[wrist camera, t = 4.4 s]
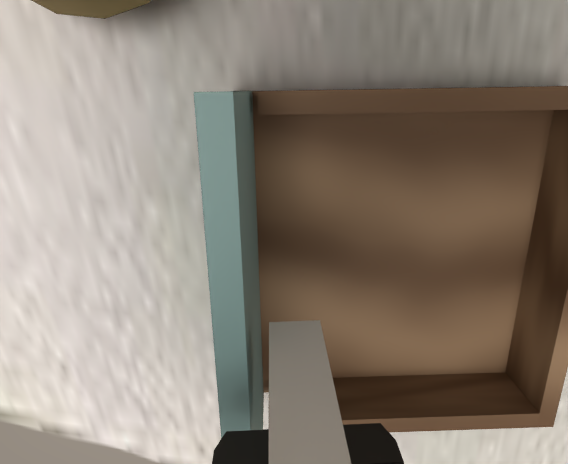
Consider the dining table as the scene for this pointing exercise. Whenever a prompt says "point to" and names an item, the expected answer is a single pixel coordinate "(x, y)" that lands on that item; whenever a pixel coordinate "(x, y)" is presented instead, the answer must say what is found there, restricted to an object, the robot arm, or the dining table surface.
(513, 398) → the crate
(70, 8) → the squeeze bottle
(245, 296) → the panel
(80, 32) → the dining table surface
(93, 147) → the dining table surface
